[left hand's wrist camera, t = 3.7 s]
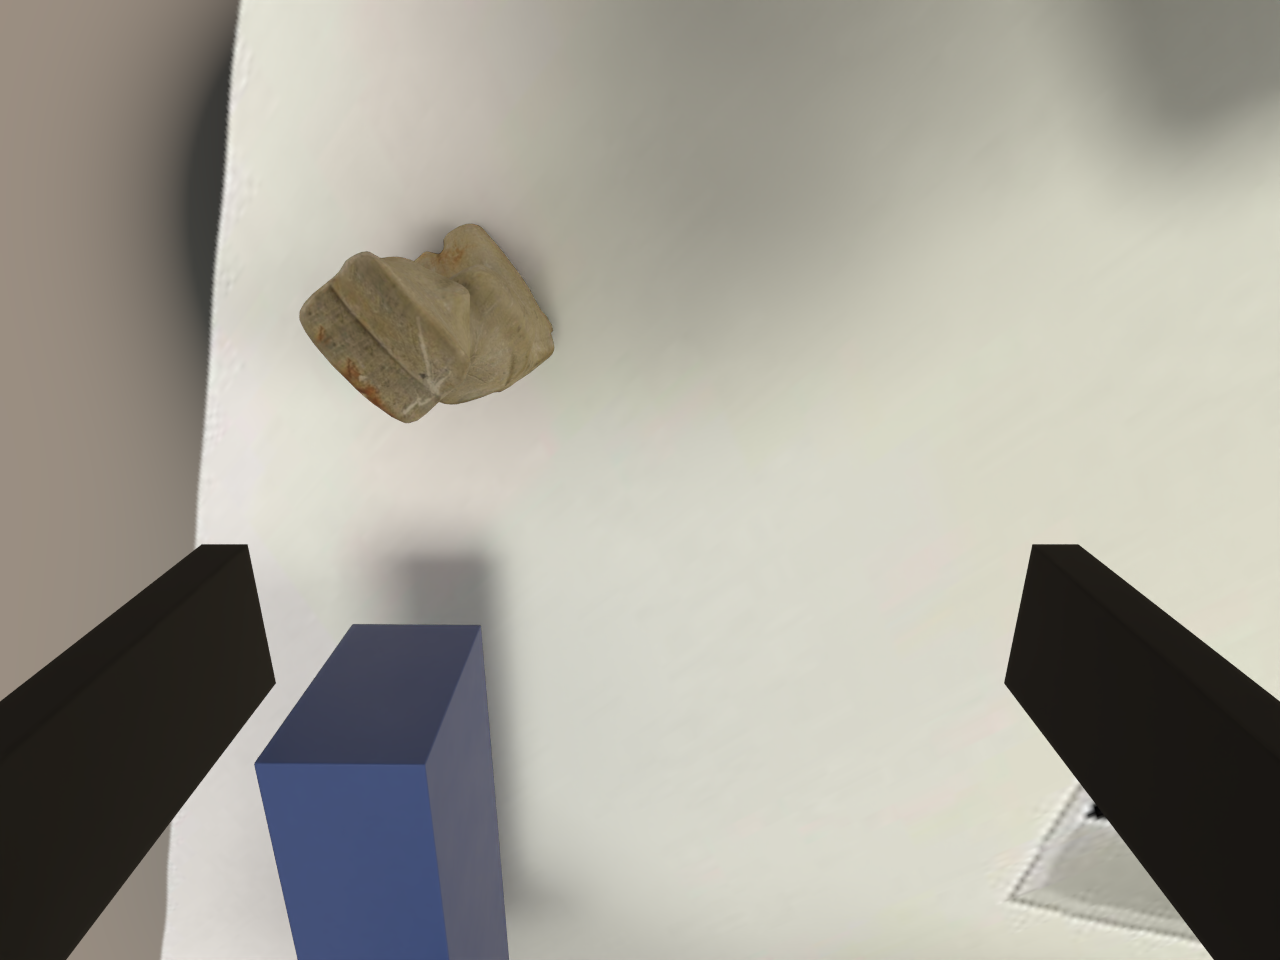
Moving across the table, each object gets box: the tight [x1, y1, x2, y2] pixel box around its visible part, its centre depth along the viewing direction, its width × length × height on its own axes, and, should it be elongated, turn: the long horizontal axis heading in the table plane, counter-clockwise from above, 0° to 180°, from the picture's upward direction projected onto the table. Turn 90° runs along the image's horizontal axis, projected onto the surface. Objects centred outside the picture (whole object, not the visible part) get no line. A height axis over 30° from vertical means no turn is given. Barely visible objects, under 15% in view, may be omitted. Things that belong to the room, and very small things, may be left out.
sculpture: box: [299, 224, 554, 423], centre depth 30 cm, size 6×7×15 cm
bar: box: [254, 624, 509, 960], centre depth 35 cm, size 27×6×9 cm, turn 0°
